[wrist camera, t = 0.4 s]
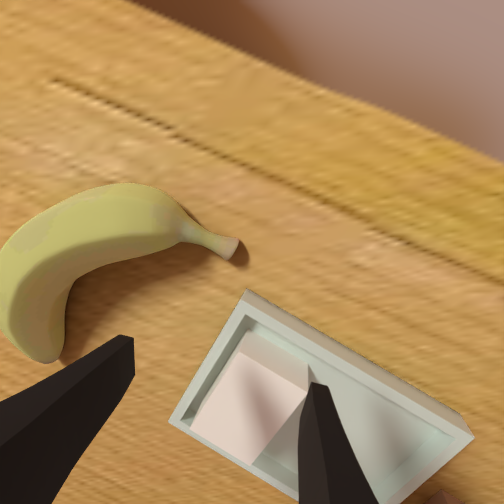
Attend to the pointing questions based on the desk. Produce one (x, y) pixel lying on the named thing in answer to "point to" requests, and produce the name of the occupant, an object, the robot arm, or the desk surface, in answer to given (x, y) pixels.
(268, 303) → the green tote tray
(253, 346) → the pale pink block
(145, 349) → the desk surface
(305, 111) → the desk surface
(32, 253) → the banana
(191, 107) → the desk surface
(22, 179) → the desk surface
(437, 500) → the walnut block
